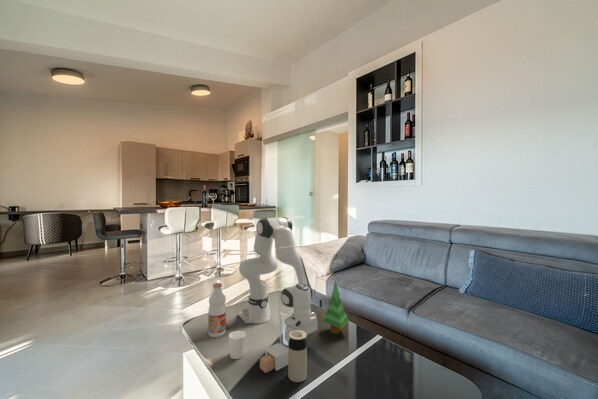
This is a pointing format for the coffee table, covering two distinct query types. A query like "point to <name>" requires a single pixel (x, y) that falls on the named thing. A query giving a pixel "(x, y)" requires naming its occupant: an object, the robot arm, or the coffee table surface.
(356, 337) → the coffee table surface
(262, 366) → the block
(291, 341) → the travel mug
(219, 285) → the fruit juice
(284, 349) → the tunnel
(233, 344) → the white cup
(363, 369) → the coffee table surface
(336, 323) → the decorative tree
